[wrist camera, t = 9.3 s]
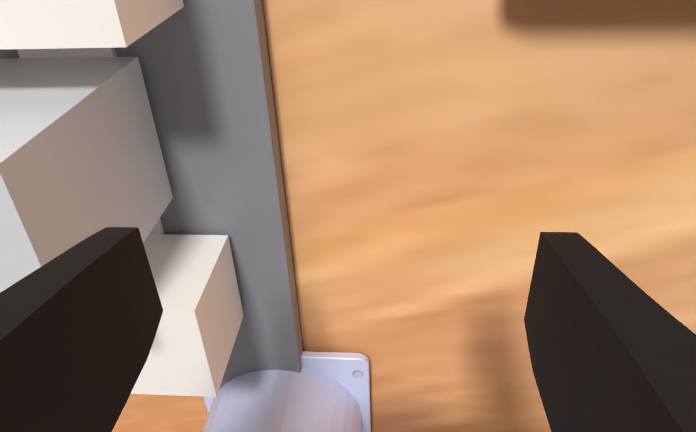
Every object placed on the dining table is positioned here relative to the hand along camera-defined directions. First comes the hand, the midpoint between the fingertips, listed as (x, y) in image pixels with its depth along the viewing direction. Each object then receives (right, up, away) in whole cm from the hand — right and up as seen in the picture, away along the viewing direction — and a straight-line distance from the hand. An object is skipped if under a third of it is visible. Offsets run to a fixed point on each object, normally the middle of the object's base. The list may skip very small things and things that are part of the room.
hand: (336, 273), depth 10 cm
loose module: (-8, +4, +8) cm, 12 cm away
